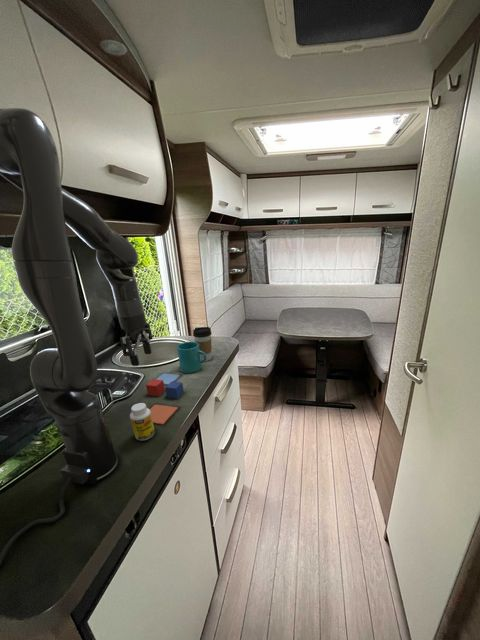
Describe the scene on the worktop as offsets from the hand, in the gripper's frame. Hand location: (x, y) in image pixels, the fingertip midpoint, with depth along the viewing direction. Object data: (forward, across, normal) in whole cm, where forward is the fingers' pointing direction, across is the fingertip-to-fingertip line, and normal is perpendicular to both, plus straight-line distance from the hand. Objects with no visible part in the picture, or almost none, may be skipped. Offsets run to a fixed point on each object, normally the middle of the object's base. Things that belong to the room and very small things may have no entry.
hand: (142, 359), depth 92 cm
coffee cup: (+18, -37, +8) cm, 42 cm away
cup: (+18, -26, +7) cm, 33 cm away
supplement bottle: (+17, +17, +6) cm, 25 cm away
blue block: (+17, -5, +6) cm, 19 cm away
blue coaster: (+18, -17, -2) cm, 24 cm away
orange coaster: (+17, +7, +6) cm, 19 cm away
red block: (+17, -6, -2) cm, 19 cm away
